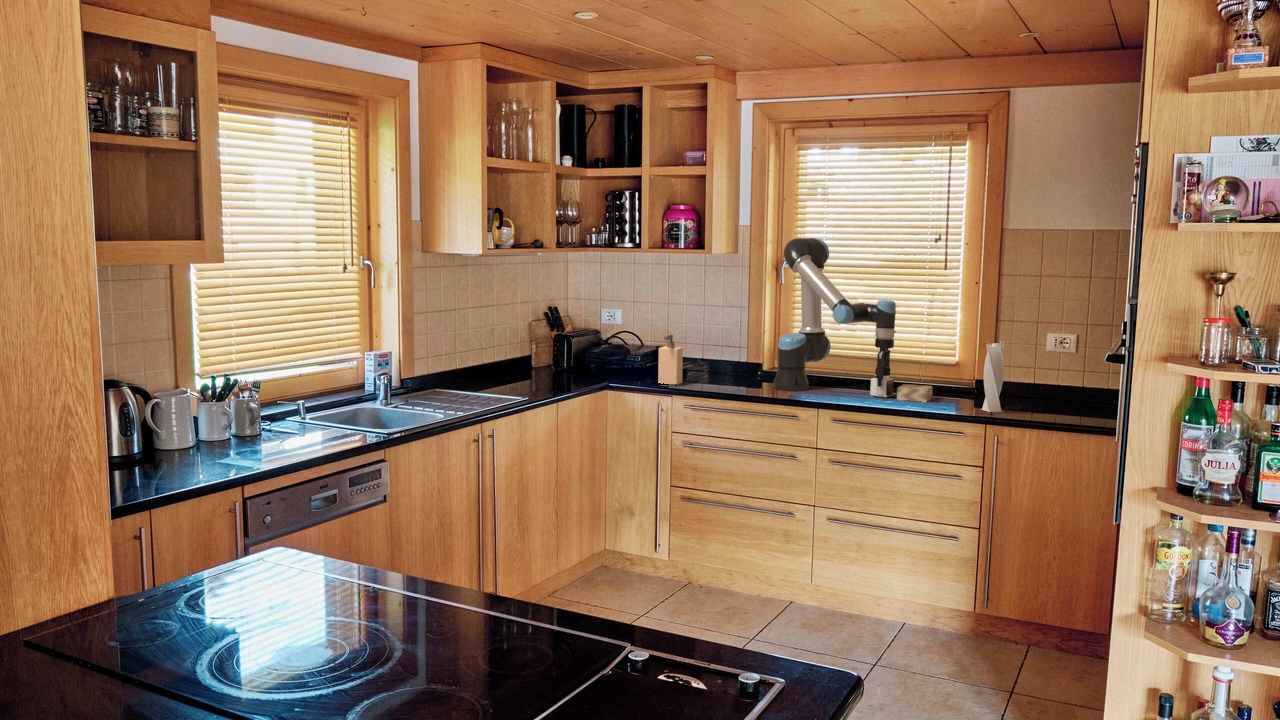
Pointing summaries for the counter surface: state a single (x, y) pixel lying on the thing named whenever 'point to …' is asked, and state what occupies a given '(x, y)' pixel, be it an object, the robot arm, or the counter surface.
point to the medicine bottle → (886, 387)
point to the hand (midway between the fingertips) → (881, 392)
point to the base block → (914, 392)
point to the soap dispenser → (670, 363)
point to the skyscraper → (993, 377)
